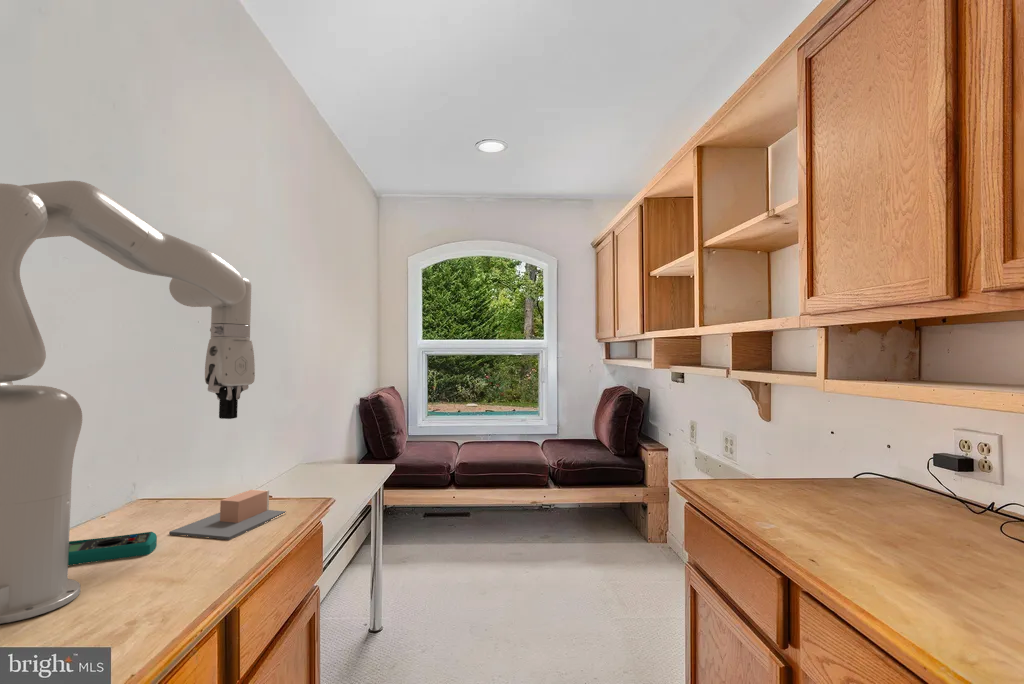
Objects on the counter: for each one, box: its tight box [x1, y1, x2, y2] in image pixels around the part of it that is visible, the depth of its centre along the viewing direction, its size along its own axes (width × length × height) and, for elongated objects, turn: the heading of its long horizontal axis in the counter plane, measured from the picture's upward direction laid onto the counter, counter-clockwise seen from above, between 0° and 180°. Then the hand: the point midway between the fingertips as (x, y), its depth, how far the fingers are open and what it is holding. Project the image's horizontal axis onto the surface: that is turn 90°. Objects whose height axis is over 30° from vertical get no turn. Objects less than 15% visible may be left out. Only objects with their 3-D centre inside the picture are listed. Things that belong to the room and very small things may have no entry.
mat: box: [169, 509, 287, 541], centre depth 113 cm, size 18×14×1 cm
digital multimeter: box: [68, 531, 158, 566], centre depth 95 cm, size 7×15×3 cm, turn 118°
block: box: [219, 488, 270, 523], centre depth 117 cm, size 4×4×10 cm
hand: (228, 418), depth 112 cm, fingers closed
